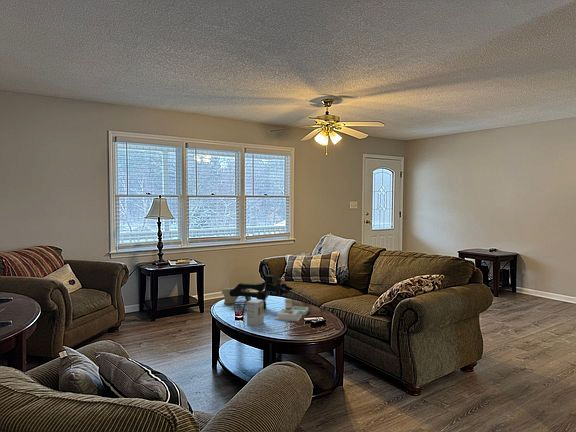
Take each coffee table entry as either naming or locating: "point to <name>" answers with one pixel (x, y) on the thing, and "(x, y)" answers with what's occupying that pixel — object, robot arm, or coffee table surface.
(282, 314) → the grey block with recess
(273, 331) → the coffee table surface
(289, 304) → the cream rounded cylinder
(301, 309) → the parts tray
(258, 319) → the supplement box
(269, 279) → the robot arm
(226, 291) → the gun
